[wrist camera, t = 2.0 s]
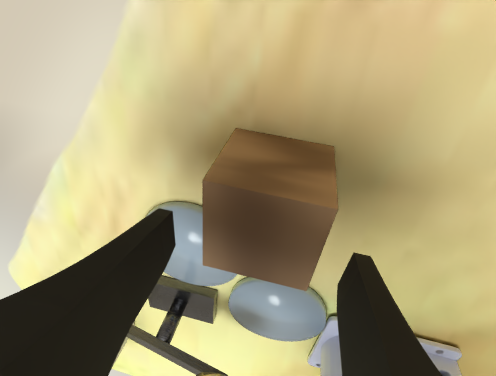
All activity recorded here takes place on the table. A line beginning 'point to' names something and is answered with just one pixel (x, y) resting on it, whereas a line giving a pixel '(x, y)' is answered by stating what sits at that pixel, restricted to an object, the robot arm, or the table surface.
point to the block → (269, 207)
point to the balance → (178, 304)
